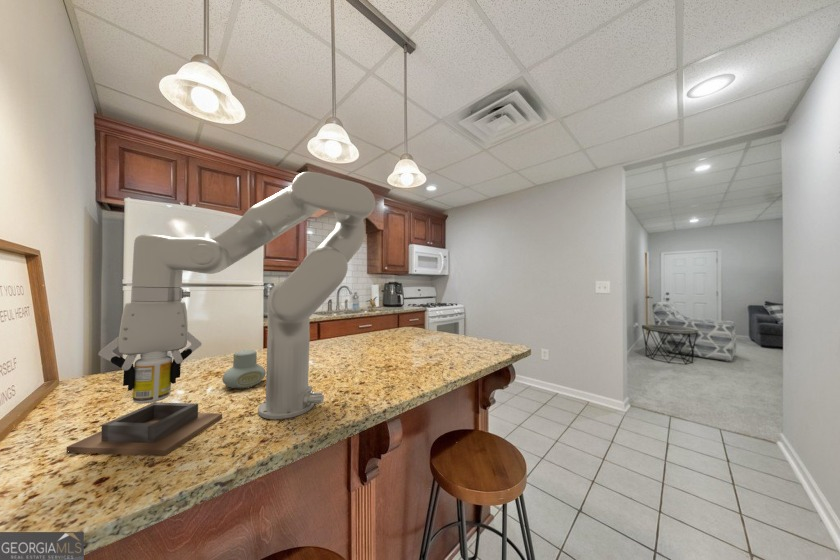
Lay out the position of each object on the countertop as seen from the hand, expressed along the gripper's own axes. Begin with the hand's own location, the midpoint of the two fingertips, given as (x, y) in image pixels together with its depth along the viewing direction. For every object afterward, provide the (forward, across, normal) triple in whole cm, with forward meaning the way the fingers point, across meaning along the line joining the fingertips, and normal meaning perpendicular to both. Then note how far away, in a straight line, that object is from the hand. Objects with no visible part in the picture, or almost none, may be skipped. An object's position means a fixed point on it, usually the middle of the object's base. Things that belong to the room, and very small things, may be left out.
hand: (152, 384), depth 57 cm
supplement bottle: (+3, 0, 0) cm, 3 cm away
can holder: (+10, 0, 0) cm, 10 cm away
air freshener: (+10, -20, -18) cm, 29 cm away
